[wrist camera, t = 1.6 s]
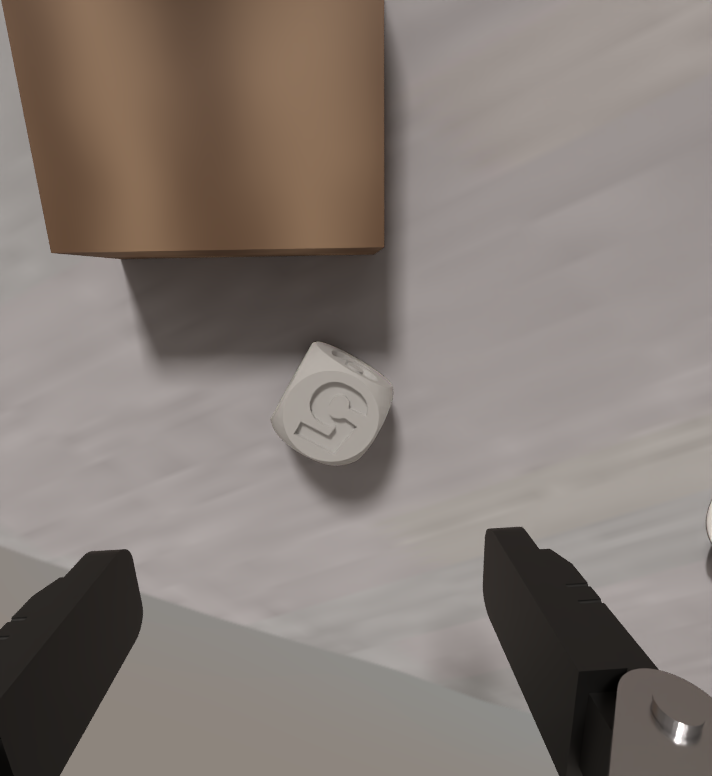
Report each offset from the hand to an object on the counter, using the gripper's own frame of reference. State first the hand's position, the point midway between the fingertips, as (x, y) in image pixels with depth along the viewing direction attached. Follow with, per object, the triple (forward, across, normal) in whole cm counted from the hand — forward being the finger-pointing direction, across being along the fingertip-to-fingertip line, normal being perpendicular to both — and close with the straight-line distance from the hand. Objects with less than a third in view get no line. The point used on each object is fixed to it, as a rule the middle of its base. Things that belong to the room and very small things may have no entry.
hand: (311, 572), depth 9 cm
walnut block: (+17, +4, -15) cm, 23 cm away
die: (+16, 0, 0) cm, 17 cm away
